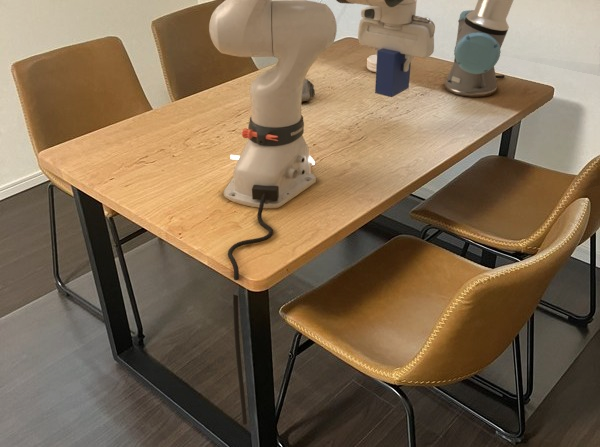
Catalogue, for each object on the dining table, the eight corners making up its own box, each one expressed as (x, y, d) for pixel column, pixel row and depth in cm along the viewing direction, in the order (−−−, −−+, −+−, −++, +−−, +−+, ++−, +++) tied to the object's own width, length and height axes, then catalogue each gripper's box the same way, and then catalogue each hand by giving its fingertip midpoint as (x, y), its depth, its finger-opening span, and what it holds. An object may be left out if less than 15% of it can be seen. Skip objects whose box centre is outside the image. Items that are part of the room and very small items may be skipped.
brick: (408, 88, 163) (412, 46, 157) (391, 97, 157) (394, 54, 151) (392, 84, 165) (395, 42, 159) (374, 93, 160) (377, 50, 154)
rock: (319, 98, 184) (319, 74, 180) (294, 107, 178) (293, 83, 175) (285, 87, 193) (284, 64, 190) (261, 95, 187) (259, 72, 184)
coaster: (364, 64, 210) (364, 54, 208) (392, 63, 211) (393, 52, 209) (369, 74, 202) (370, 63, 200) (399, 72, 203) (400, 62, 201)
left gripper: (441, 16, 147) (435, 73, 155) (369, 4, 158) (367, 57, 165) (429, 22, 143) (423, 80, 150) (355, 9, 154) (353, 64, 161)
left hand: (393, 68), depth 158 cm, fingers closed on brick, 5 cm apart
